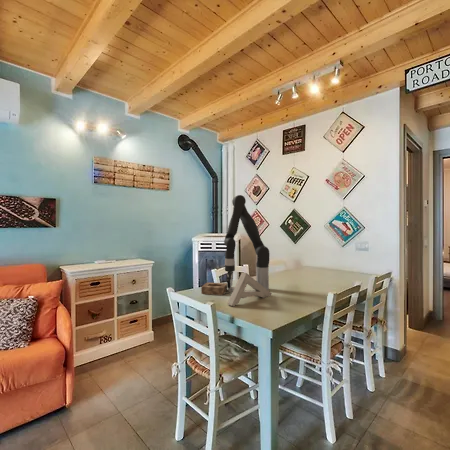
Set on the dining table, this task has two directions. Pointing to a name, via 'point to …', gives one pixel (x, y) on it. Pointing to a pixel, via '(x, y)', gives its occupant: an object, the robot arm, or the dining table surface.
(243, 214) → the robot arm
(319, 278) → the dining table surface
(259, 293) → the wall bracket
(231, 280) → the bracket
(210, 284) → the well block
